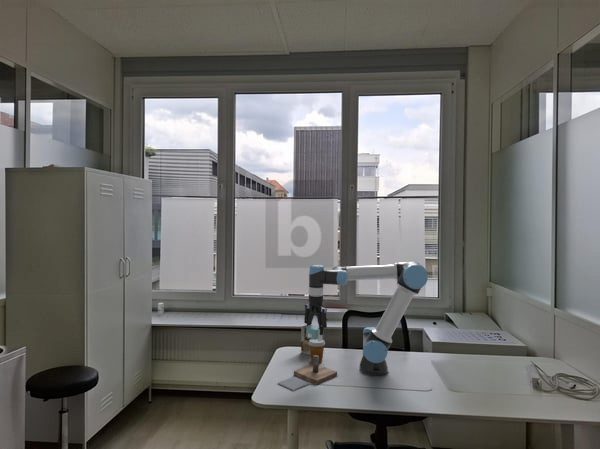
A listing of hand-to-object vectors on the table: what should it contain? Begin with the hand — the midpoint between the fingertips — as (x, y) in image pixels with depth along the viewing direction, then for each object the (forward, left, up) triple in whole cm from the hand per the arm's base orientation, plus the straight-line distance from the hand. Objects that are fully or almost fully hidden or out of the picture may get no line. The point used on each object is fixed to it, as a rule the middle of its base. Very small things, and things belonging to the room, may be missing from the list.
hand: (314, 339), depth 205 cm
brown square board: (0, -1, -19) cm, 19 cm away
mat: (0, +15, -19) cm, 24 cm away
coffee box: (+25, -23, -19) cm, 39 cm away
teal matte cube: (0, 0, +1) cm, 1 cm away
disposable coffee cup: (+13, -16, -19) cm, 28 cm away
